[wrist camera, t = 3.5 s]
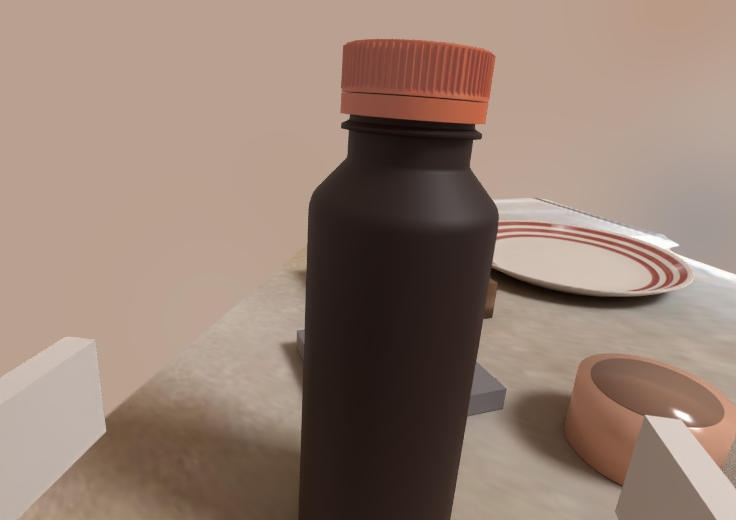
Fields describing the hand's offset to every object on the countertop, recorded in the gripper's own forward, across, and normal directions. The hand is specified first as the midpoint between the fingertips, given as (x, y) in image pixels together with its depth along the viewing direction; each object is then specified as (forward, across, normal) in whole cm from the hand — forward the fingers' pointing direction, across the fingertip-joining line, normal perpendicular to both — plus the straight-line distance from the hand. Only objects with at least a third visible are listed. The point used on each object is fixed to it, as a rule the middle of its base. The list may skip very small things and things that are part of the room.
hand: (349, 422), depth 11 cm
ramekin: (+16, +15, -11) cm, 24 cm away
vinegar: (+7, 0, -11) cm, 13 cm away
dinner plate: (+50, +20, -11) cm, 55 cm away
